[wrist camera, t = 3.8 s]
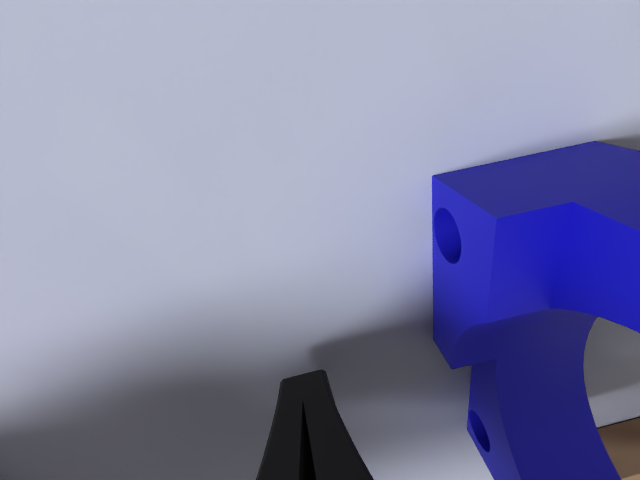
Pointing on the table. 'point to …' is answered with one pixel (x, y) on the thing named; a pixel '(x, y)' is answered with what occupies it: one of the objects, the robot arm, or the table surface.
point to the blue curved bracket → (535, 298)
